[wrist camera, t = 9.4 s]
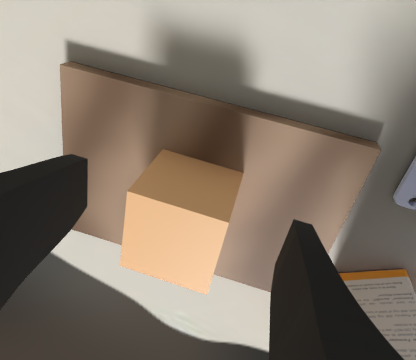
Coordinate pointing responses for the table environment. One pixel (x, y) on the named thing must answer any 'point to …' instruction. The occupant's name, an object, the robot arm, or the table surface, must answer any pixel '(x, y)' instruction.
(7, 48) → the table surface
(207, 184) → the orange cube
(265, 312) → the table surface
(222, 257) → the walnut board
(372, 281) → the supplement box
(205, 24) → the table surface
